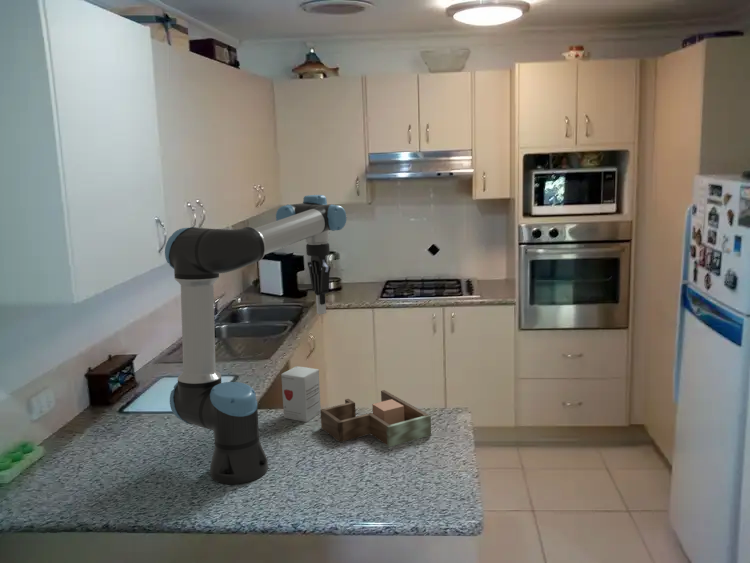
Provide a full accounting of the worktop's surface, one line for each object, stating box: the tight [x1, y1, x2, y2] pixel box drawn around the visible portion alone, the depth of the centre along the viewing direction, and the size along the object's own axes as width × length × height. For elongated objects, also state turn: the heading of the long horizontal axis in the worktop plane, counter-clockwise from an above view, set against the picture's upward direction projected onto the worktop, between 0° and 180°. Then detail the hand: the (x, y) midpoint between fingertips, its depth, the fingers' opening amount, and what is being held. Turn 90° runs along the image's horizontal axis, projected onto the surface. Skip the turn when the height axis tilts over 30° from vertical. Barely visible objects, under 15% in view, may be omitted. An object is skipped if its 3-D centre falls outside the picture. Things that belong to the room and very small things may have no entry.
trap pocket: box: [320, 402, 371, 443], centre depth 205 cm, size 11×12×6 cm
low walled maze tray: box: [344, 389, 432, 448], centre depth 207 cm, size 14×27×6 cm, turn 30°
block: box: [372, 399, 404, 425], centre depth 207 cm, size 7×7×7 cm
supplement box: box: [280, 365, 322, 423], centre depth 217 cm, size 9×9×15 cm
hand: (321, 313), depth 225 cm, fingers closed
